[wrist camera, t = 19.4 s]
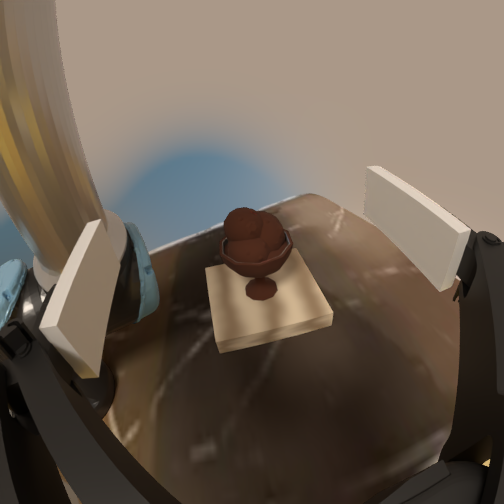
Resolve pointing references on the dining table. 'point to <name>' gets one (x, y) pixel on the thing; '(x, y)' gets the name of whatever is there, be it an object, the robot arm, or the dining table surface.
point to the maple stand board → (265, 306)
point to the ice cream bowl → (255, 249)
